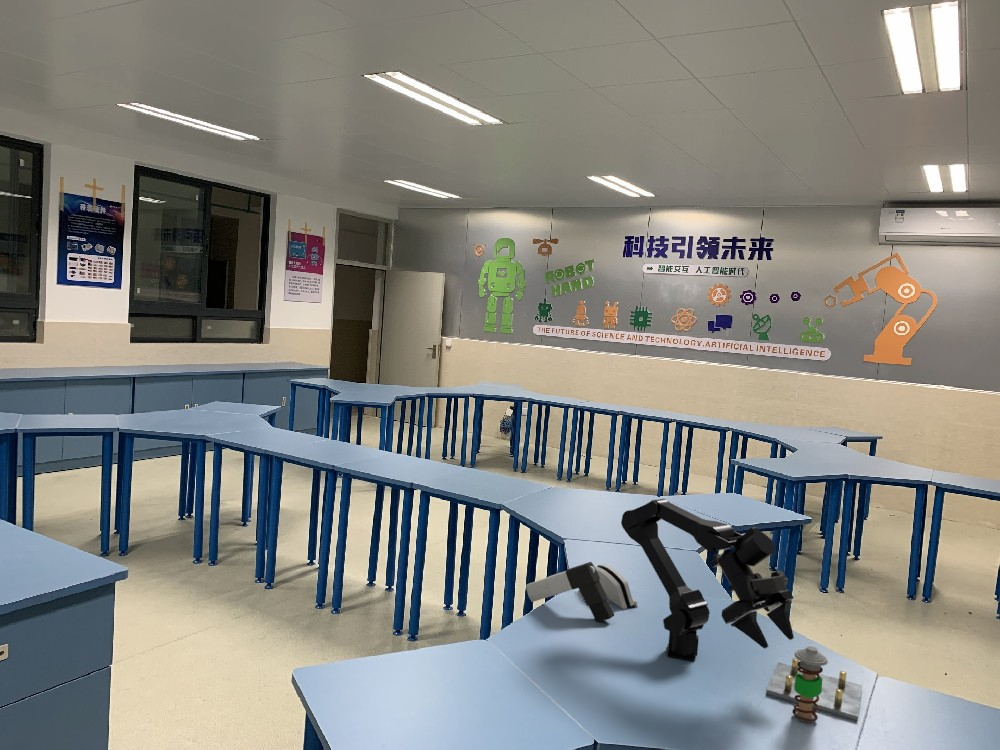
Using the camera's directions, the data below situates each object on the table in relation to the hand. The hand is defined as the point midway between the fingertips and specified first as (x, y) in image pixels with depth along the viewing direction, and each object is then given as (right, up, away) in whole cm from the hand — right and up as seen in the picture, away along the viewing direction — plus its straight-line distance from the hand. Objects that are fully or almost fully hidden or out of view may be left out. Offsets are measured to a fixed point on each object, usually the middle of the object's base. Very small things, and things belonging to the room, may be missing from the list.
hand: (779, 643), depth 155 cm
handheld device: (-41, -7, +43) cm, 60 cm away
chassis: (+10, -13, +7) cm, 18 cm away
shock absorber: (+3, -14, -5) cm, 15 cm away
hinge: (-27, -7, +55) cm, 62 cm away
